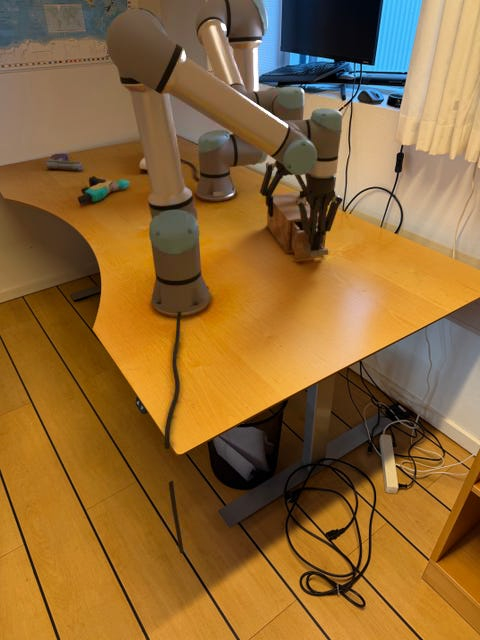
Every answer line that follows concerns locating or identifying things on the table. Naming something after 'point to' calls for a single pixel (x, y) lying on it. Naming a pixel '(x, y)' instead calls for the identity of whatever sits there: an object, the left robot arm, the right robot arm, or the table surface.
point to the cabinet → (285, 217)
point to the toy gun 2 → (100, 189)
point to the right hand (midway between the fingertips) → (285, 213)
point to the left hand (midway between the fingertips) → (314, 253)
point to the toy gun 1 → (62, 162)
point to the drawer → (304, 243)
